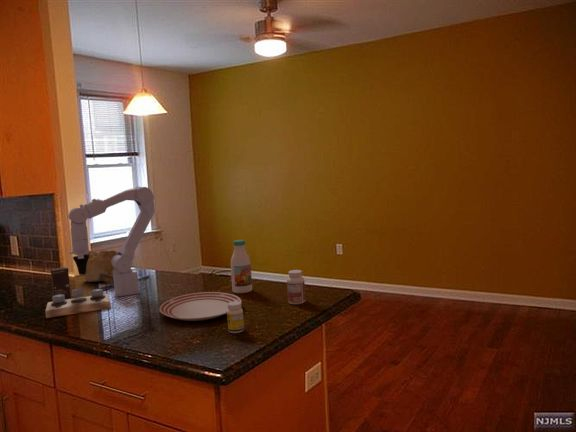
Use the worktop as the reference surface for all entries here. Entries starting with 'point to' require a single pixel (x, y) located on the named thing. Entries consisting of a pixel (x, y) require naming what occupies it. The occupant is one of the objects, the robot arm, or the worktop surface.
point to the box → (60, 281)
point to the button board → (77, 305)
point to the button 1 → (58, 298)
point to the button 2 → (97, 292)
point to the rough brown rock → (100, 266)
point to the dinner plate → (198, 306)
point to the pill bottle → (296, 287)
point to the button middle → (77, 292)
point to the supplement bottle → (235, 317)
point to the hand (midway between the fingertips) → (82, 274)
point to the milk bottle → (240, 268)
